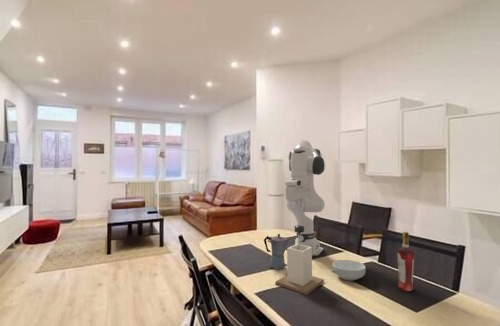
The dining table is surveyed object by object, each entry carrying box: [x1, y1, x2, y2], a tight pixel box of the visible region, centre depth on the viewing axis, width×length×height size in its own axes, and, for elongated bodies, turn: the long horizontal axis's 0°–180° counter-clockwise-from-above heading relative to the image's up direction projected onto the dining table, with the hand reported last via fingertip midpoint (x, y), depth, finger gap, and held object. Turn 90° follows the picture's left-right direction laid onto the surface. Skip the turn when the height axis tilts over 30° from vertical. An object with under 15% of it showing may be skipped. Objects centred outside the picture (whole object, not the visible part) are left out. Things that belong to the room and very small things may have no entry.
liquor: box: [396, 231, 415, 293], centre depth 140 cm, size 7×7×28 cm
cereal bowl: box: [332, 259, 367, 282], centre depth 155 cm, size 17×17×7 cm
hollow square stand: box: [274, 243, 325, 295], centre depth 148 cm, size 18×18×18 cm
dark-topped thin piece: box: [294, 224, 304, 250], centre depth 148 cm, size 6×6×17 cm
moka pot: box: [263, 233, 290, 271], centre depth 171 cm, size 10×15×20 cm, turn 78°
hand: (299, 208), depth 148 cm, fingers closed
